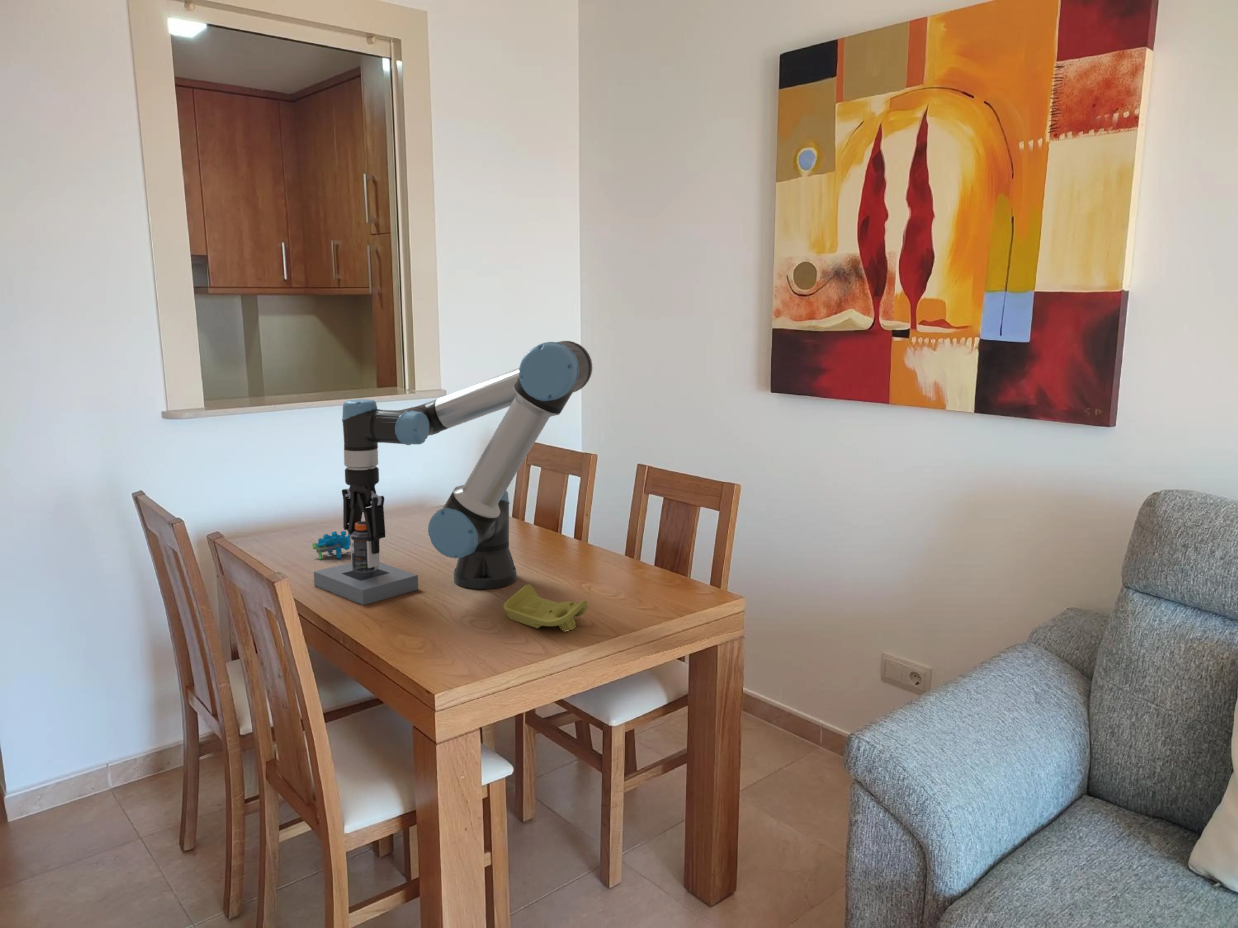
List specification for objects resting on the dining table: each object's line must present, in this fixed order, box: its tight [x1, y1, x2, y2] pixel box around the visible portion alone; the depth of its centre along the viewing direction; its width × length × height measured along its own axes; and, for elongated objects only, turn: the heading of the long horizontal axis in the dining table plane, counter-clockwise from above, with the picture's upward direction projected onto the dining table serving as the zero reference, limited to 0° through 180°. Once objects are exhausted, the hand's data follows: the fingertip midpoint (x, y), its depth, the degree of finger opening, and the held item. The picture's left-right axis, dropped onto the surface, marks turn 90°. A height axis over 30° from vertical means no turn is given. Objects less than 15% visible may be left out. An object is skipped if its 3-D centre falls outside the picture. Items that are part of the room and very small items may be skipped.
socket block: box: [313, 561, 419, 606], centre depth 205 cm, size 20×15×4 cm
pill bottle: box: [350, 520, 379, 572], centre depth 203 cm, size 6×6×11 cm
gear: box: [311, 530, 351, 561], centre depth 229 cm, size 11×6×10 cm
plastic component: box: [503, 583, 588, 632], centre depth 184 cm, size 20×7×10 cm
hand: (365, 563), depth 204 cm, fingers closed on pill bottle, 6 cm apart
